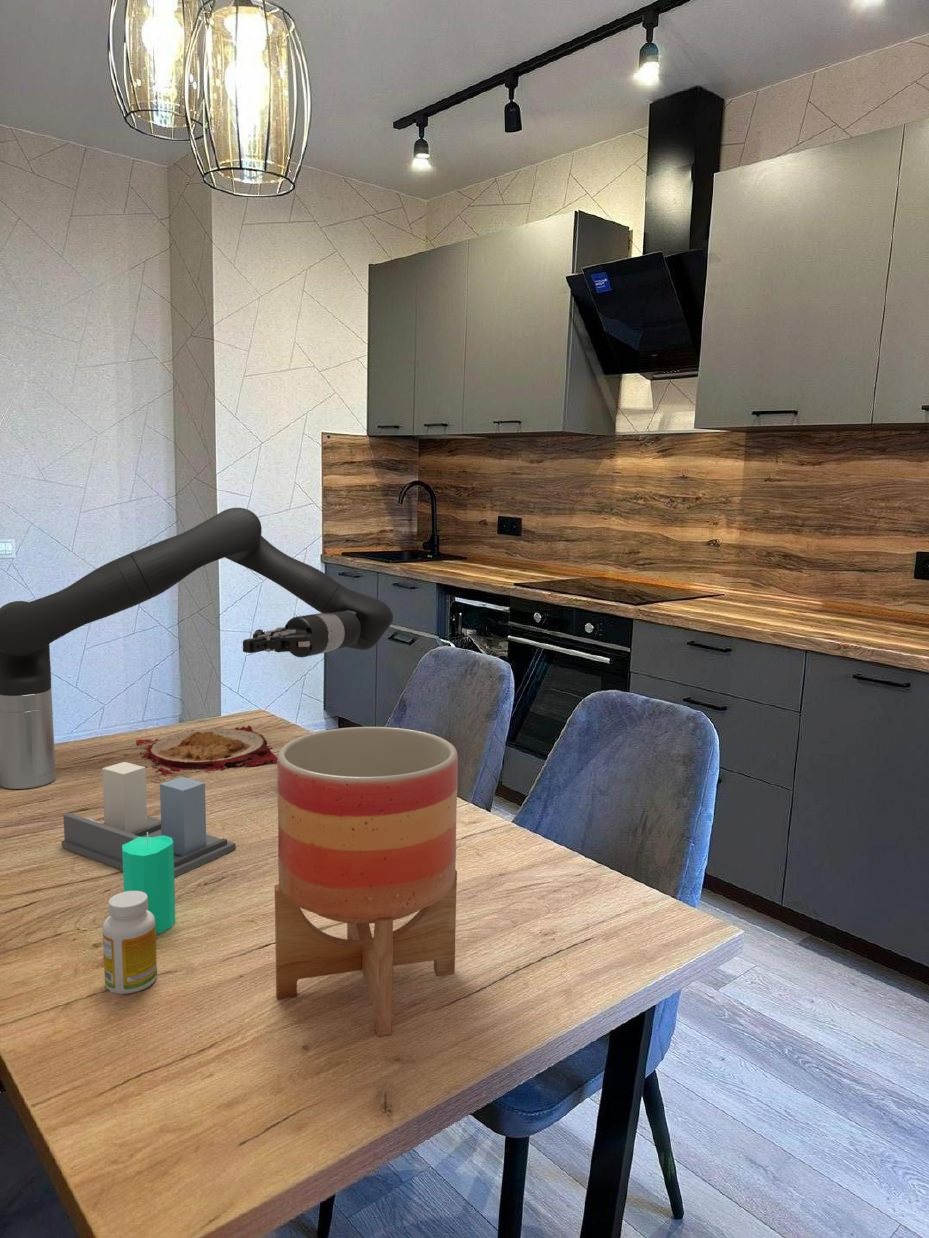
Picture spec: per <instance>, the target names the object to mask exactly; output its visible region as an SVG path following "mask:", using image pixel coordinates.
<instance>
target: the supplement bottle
mask: <svg viewBox="0 0 929 1238" xmlns="http://www.w3.org/2000/svg"><path fill="white" fill-rule="evenodd" d="M147 909H148V896H147V894H146V893H144V892H141V891H127V892H124V891H123V892H120V893H117V894H115V895H113V896H111V897H110V898H109V900H108V914H109V916H107V918H106V919H105V920H104V922H103V924H102V946H103V947H102V949H103V951H102V952H103V969H104V970H103V971H104V973H103V975H104V985H105V987H106V989H107V990H108V991H109V992H111V993H114V994H120V995H124V994H127V995H128V994H132V993H133V994H134V993H137V992H139V991H140V992H141V991H143V990H145V989H146V988H148V987H150V986H151V985H152V984H153V983H154V982H155V981H156V979H157V975H158V966H157V965H158V964H157V963H158V962H157V938H156V936H157V934H156V930H155V918H154V915H153V914H152V913H151V912H150V911H148V910H147Z"/></svg>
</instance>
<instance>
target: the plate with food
mask: <svg viewBox="0 0 929 1238" xmlns="http://www.w3.org/2000/svg"><path fill="white" fill-rule="evenodd" d="M147 743H150V744H149V745H147ZM151 743H152V744H151ZM135 744H136V746H142V744H144V745H147V747H146V748H144V750H145V751H146V753H143V752H142V751H141V752H139V753H140V755H142V756H141V759H143V760H144V761H145V760H146V759H148V760H151V761H152V763H153V764H159V765H160V766H161V767H159V766H154V765H152V764H151V769H155V771H154V773H157V774H160V776H166V775H173V776H174V775H175V773H174V772H178V773H179V772H182V771H183V770H185V771H192V769H194V770H196V773H200V771H198V770H197V769H199V770H200V769H204V772H206V773H208V772H209V773H210V772H214V771H219V772H221V771H224V770H228V769H229V768H228V767H227V766H226V765H225V764H226V763H234V762H236V764H235V766H238V767H239V766H242V765H244V764H245V767H248V766H249V767H256V766H258V765H262V764H264V763H265V764H266V763H268V762H273V763H274V762H278V756H276V754H274V753H273V752H272V751H271V750H273V748H272V747H270V745H268V742H267V740H266V738H265V737H264V735H263V734H260V733H258V732H256V731H254V730H253V728H252V725H247V727H245V726H242V727H235V728H232V729H229V728H210V729H199V730H197V729H196V730H193V729H192V730H190V731H189V730H187V731H185V732H181V733H180V732H179V733H176V734H174V735H169V736H168V737H166V738H163V739H160V740H159V739H158V738H156V739H154V740H152V739H147V738H146V739H142V738H141V739H137V740H135ZM248 759H249V760H248ZM244 760H245V761H244ZM145 767H146V769H147V768H148V766H146V765H145ZM157 767H159V768H157ZM164 767H165V768H164ZM166 767H168V768H170V770H169V769H166ZM249 767H248V768H249ZM159 771H161V772H159ZM158 772H159V773H158Z"/></svg>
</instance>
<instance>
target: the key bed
mask: <svg viewBox="0 0 929 1238" xmlns="http://www.w3.org/2000/svg"><path fill="white" fill-rule="evenodd" d="M147 832H148V837H157V836H161V819H159V818H156V817H153V816H150V815H147V827H146V828H143V829H141V830H138V831H135V832H133V833H128V832H125V831H122V830H119V829H116V828H113V827H110V826H107V825H104V822H103V823H101V822H100V821H96V820H94V819H93V818H92V819H91V818H88V817H87V818H85V817H82V816H80V815H76V814H74V813H71V812H69V813H65V814H63V833H64V836H63V837H64V840H62V841H61V849H65V850H67V851H70V852H73V853H74V854H77V855H80V856H83V857H86V858H88V859H91V860H94V861H97V862H100V863H102V864H105V865H108V866H110V867H113V868H116V869H118V870H121V871H123V855H122V845H124V844H126V843H128V842H130V841H132V840H134V839H136V838H138V837H147ZM235 850H236V843H235V842H233V841H229V840H228V839H227V838H219V837H216V836H213V835H211V834H207V833H206V846H204V847H202V848H200V849H197V850H195V851H193V852H191V853H188V854H186V855H184V856H181V855H178V854H175V853H173V854H174V878H176V877H178V876H181V875H183V874H185V873H187V872H189V871H192V870H194V869H196V868H198V867H201V866H203V865H205V864H208V863H210V862H213V861H215V860H216V859H218V858H220V857H223V856H224V855H227V854H230V853H232V852H234V851H235Z"/></svg>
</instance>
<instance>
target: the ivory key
mask: <svg viewBox="0 0 929 1238" xmlns="http://www.w3.org/2000/svg"><path fill="white" fill-rule="evenodd" d="M101 769H102V770H101V771H102V773H101V774H102V796H103V819H104V822H103V823H104V825H107V826H110V827H113V828H116V829H119V830H122V831H125V832H128V833H133V832H135V831H138V830H141V829H143V828H146V827H147V816H148V806H147V805H148V804H147V799H148V797H147V777H146V776H147V772H146V769H147V768H146V766H141V765H137V764H134V763H131V762H127V761H122V762H119V763H116V764H112V765H109V766H105V767H103V768H101Z"/></svg>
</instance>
